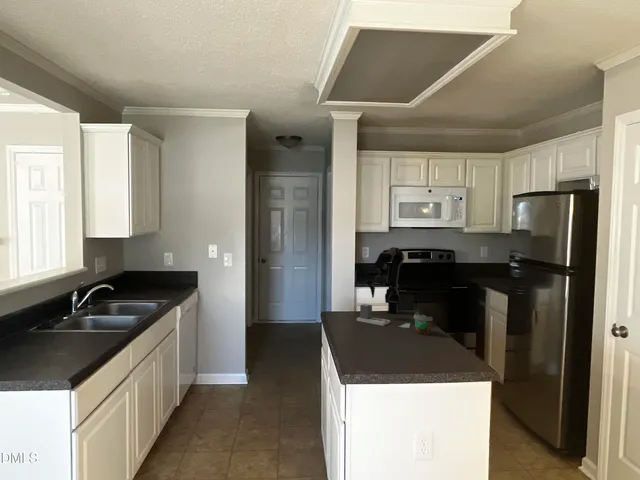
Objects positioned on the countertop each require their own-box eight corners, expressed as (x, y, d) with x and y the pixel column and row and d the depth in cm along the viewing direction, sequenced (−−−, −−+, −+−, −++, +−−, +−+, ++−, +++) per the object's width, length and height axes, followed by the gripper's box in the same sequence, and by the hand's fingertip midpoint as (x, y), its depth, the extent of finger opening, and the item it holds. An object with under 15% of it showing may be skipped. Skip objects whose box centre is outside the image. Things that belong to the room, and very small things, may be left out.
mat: (394, 323, 258) (394, 322, 258) (410, 324, 256) (410, 323, 256) (392, 326, 250) (392, 326, 250) (409, 328, 247) (409, 327, 247)
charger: (364, 318, 263) (364, 303, 262) (371, 320, 260) (372, 304, 259) (359, 320, 259) (360, 305, 258) (367, 321, 256) (367, 306, 256)
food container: (408, 330, 242) (409, 312, 241) (417, 329, 244) (418, 311, 244) (422, 336, 231) (423, 317, 230) (432, 335, 233) (432, 316, 233)
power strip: (356, 322, 259) (356, 317, 258) (363, 319, 265) (364, 314, 265) (383, 327, 248) (383, 321, 248) (389, 324, 255) (390, 319, 254)
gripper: (364, 268, 263) (360, 294, 259) (395, 270, 255) (391, 297, 251) (370, 273, 272) (366, 298, 268) (400, 275, 264) (396, 301, 260)
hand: (380, 298), depth 262 cm, fingers open, 9 cm apart
